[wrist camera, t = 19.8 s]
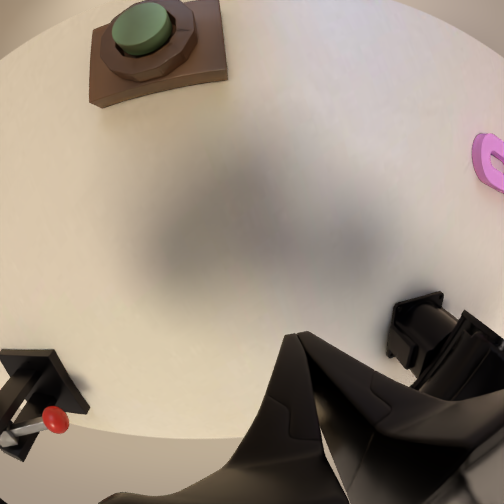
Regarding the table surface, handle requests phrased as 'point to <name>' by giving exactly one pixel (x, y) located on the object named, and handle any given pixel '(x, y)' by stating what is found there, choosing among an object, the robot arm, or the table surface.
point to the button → (142, 28)
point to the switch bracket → (35, 392)
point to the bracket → (488, 160)
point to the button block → (160, 55)
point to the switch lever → (35, 426)
